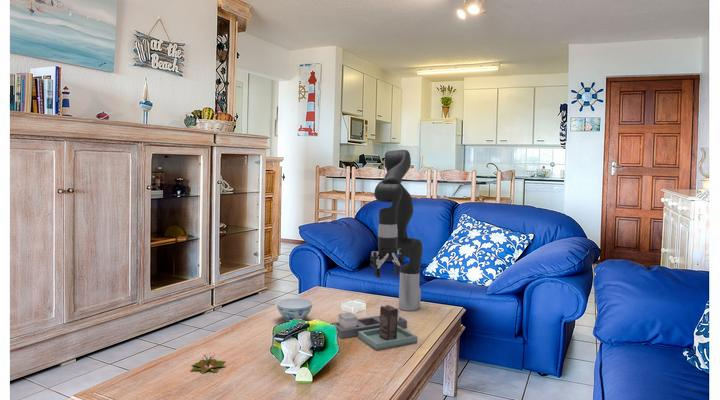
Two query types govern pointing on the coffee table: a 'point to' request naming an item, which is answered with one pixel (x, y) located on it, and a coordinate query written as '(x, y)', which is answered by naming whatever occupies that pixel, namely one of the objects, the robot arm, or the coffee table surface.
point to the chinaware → (294, 308)
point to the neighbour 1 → (347, 320)
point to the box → (388, 322)
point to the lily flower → (208, 362)
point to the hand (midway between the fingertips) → (387, 276)
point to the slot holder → (364, 326)
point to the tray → (379, 343)
